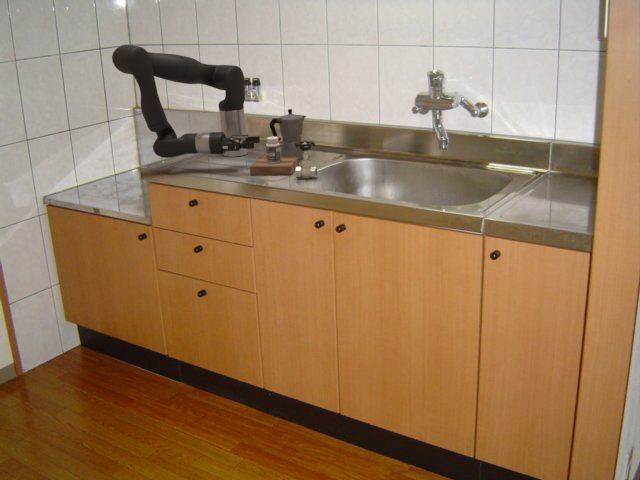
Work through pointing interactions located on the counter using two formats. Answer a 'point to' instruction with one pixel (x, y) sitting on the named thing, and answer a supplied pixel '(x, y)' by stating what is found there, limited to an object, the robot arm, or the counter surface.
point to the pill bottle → (273, 150)
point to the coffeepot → (289, 133)
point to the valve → (305, 162)
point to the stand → (274, 167)
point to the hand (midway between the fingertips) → (256, 142)
